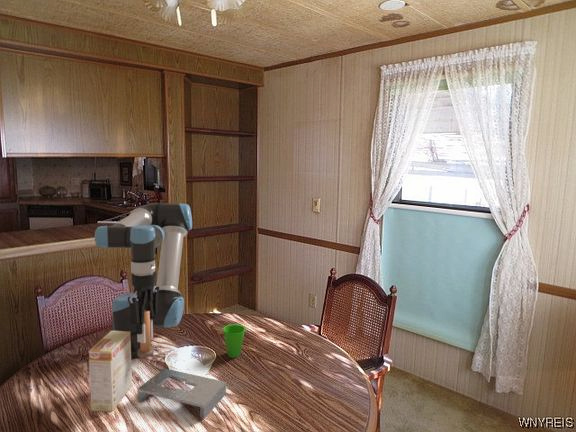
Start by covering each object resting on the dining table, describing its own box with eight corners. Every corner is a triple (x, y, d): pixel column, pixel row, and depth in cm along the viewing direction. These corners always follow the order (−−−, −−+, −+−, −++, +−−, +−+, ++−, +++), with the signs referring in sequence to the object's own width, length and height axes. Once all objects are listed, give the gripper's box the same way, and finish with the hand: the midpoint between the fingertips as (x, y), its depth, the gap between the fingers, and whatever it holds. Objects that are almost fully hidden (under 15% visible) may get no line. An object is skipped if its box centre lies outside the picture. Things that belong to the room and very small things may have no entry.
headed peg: (134, 355, 136) (132, 313, 134) (144, 349, 141) (143, 307, 139) (147, 358, 135) (146, 315, 132) (156, 351, 139) (156, 310, 137)
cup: (247, 350, 166) (247, 324, 165) (242, 361, 157) (243, 334, 156) (225, 348, 167) (225, 323, 166) (219, 359, 158) (220, 332, 157)
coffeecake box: (112, 384, 138) (110, 330, 136) (132, 385, 138) (131, 330, 136) (89, 411, 124) (87, 350, 121) (112, 412, 123) (110, 351, 121)
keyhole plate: (137, 401, 129) (137, 388, 128) (164, 379, 142) (164, 368, 142) (203, 419, 121) (203, 405, 121) (225, 394, 134) (225, 382, 134)
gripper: (136, 281, 125) (138, 352, 128) (168, 267, 140) (169, 331, 143) (116, 278, 127) (119, 348, 131) (150, 265, 142) (151, 328, 146)
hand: (145, 339), depth 137 cm, fingers closed on headed peg, 3 cm apart
